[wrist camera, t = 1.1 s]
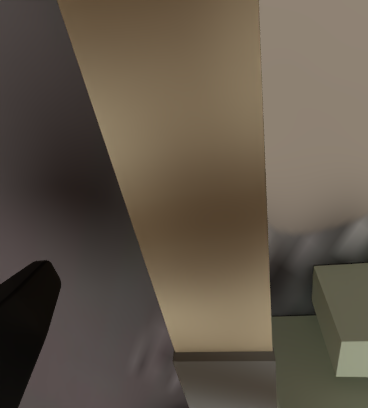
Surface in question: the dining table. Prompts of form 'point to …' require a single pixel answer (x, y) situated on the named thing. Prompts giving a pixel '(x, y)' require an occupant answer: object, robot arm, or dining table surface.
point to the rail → (190, 176)
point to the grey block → (326, 343)
